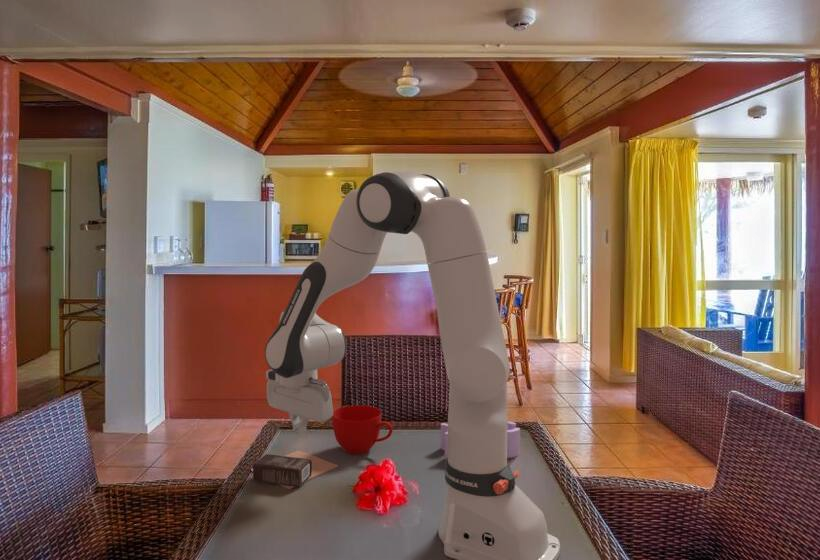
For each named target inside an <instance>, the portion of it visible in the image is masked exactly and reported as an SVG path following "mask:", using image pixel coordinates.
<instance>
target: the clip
mask: <svg viewBox="0 0 820 560" xmlns="http://www.w3.org/2000/svg"><path fill="white" fill-rule="evenodd" d="M520 449H521V427H517V423H516V422H514V421H508V420H507V459H511V458H515V457H518V456H519V455H520V453H521V450H520ZM440 450H443V451H444V460H446V458H447V457H448V423H445V422H443V423H440Z"/></svg>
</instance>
